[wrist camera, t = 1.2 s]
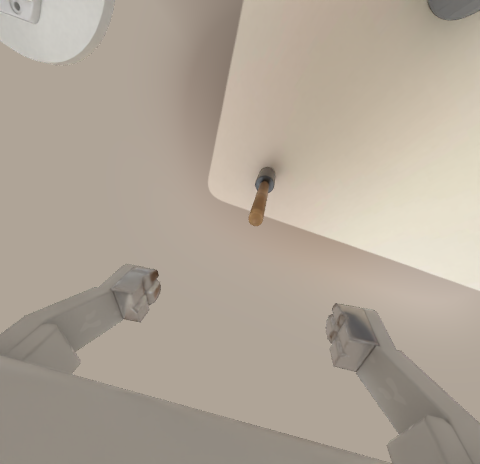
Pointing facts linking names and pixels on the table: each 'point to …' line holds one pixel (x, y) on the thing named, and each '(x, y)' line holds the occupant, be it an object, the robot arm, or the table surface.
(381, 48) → the table surface
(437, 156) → the table surface
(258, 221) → the bottle brush
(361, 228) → the table surface
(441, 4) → the bottle
